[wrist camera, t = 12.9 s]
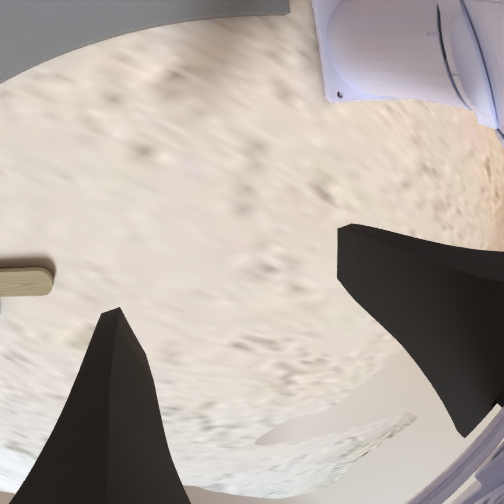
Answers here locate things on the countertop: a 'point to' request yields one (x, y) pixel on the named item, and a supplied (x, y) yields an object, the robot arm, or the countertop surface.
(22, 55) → the mat
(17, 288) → the ice cream bar
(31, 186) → the countertop surface
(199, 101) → the countertop surface
